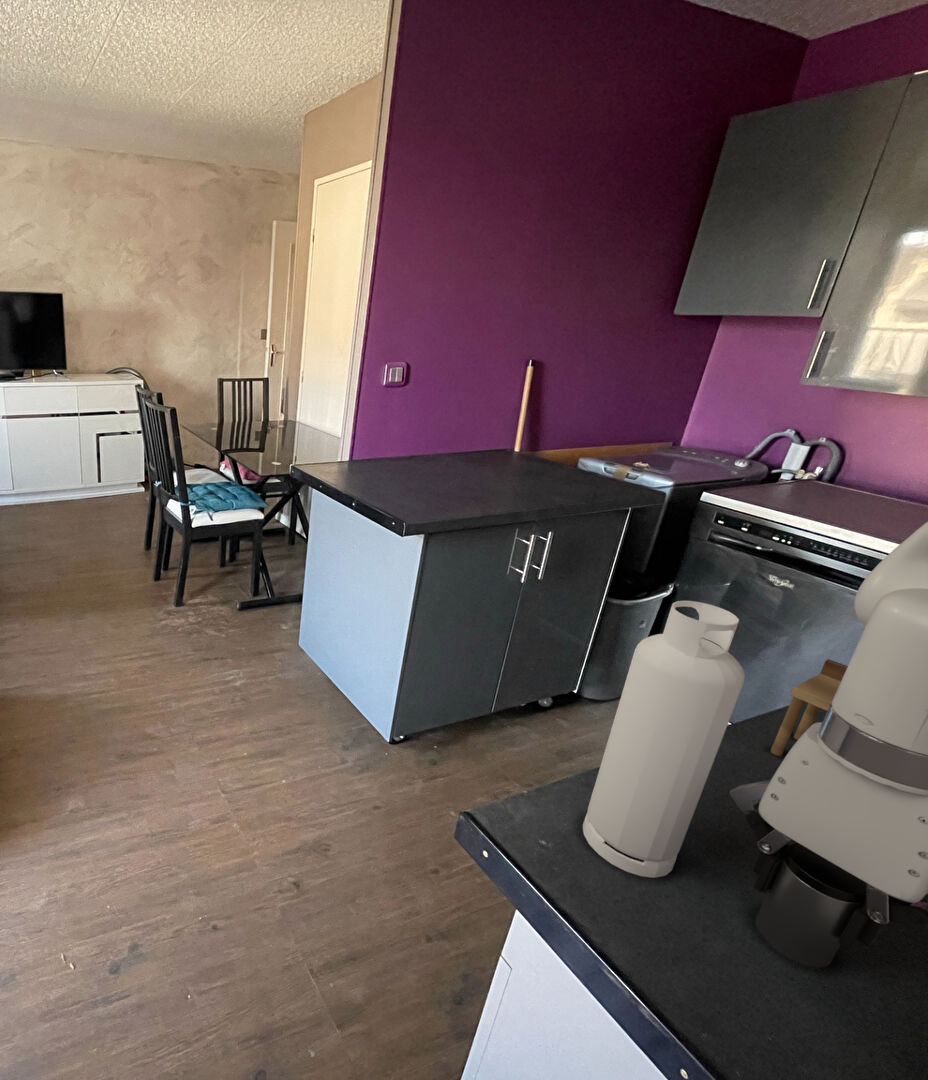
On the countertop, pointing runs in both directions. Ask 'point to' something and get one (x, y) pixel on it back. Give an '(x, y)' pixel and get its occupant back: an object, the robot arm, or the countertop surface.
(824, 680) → the small wooden chair
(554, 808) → the countertop surface
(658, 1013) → the countertop surface
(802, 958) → the canister
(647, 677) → the bottle
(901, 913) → the robot arm
